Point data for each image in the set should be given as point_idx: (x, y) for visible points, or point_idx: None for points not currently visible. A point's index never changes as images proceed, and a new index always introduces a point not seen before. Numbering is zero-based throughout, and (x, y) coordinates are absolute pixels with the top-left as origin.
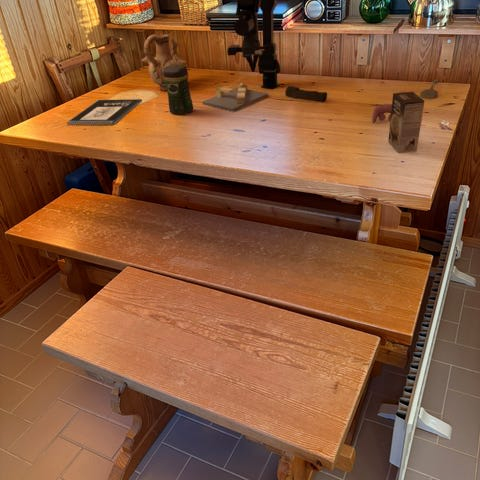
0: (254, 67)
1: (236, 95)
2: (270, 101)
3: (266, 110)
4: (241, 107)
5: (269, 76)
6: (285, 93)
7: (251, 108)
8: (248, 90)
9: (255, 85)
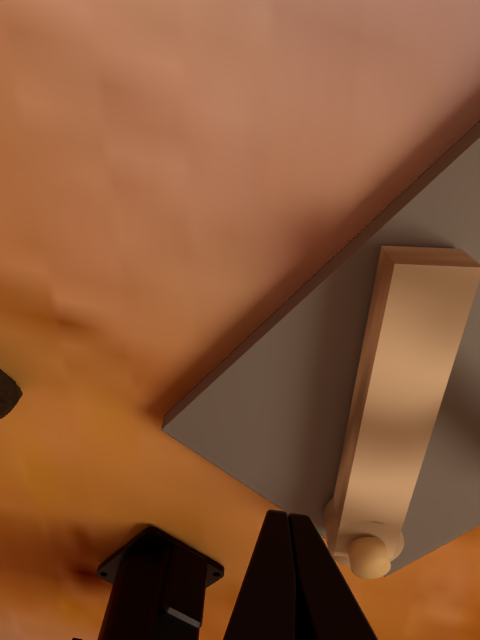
0: (254, 591)
1: None
2: (135, 298)
3: (153, 35)
4: (416, 182)
5: (143, 625)
6: (12, 398)
7: (314, 144)
8: (314, 513)
9: None
